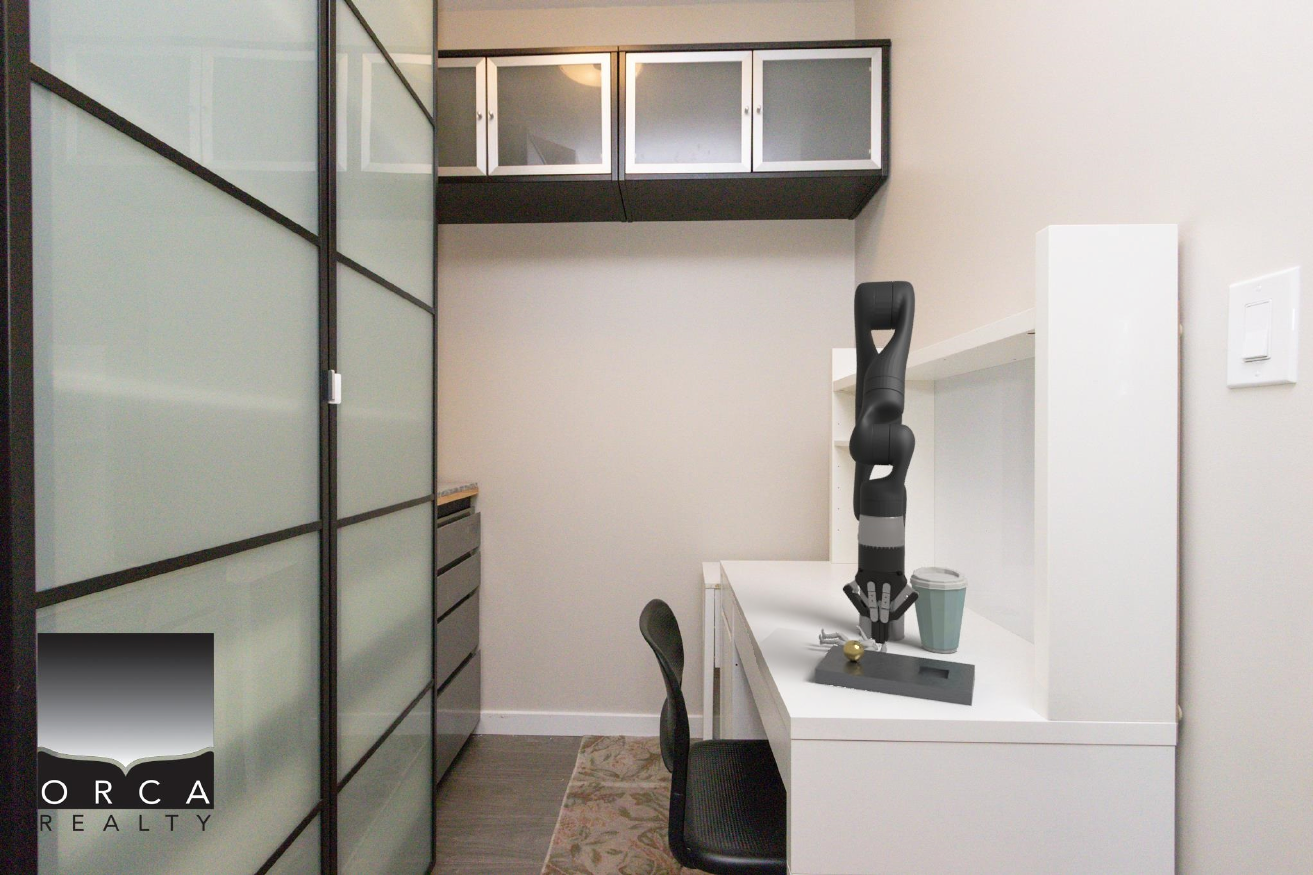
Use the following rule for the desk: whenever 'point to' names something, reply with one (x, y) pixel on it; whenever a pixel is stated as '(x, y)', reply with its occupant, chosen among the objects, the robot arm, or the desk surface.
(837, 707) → the desk surface
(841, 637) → the soldier figure
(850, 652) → the brass knob
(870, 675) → the bore plate
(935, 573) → the disposable coffee cup
